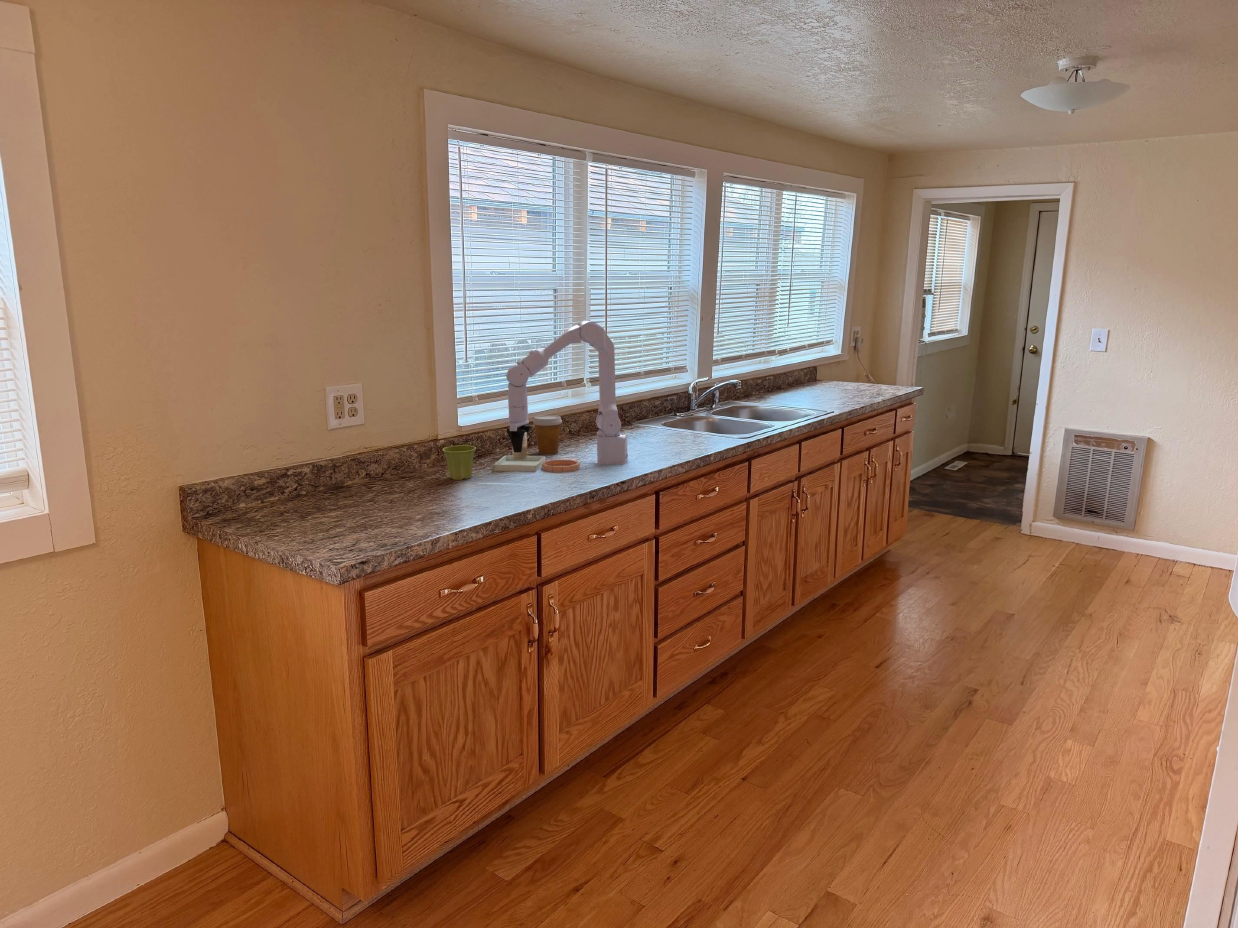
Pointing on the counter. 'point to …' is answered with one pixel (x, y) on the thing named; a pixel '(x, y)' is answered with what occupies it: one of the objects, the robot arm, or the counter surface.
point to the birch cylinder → (524, 450)
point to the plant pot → (459, 461)
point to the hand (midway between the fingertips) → (519, 450)
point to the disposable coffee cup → (547, 433)
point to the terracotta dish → (560, 465)
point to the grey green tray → (519, 464)
